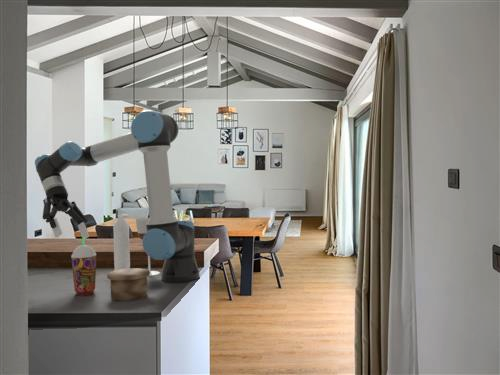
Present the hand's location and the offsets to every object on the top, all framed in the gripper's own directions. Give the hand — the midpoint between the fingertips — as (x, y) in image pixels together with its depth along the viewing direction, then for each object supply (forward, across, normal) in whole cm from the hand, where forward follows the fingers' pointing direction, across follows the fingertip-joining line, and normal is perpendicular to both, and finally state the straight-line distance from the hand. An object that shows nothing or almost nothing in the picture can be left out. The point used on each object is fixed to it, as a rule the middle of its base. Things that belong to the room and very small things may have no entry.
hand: (73, 236), depth 166 cm
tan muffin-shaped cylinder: (+31, -1, +12) cm, 33 cm away
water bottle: (+12, -28, -6) cm, 31 cm away
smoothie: (+22, +1, -3) cm, 22 cm away
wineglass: (+18, -32, +4) cm, 37 cm away
